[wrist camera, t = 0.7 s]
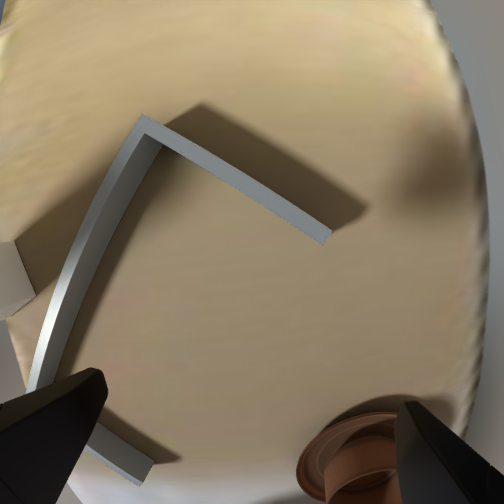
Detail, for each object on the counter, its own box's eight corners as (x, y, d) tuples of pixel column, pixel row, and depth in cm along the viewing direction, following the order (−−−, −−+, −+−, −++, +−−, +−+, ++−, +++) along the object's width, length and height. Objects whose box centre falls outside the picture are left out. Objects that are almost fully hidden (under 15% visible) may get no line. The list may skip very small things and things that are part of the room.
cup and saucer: (444, 419, 22) (471, 457, 16) (371, 499, 24) (381, 540, 18) (342, 383, 23) (356, 429, 17) (272, 474, 24) (268, 521, 18)
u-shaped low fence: (151, 465, 26) (139, 486, 22) (44, 383, 26) (25, 397, 22) (325, 228, 21) (332, 230, 18) (161, 126, 22) (141, 113, 18)
